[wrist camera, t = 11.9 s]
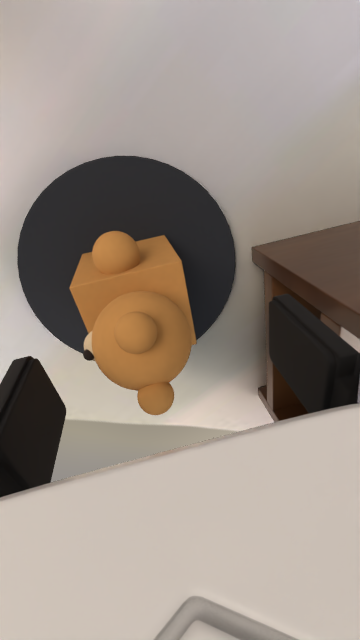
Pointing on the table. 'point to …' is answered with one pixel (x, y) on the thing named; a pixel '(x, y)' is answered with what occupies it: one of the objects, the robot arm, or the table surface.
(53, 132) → the table surface
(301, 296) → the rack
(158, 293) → the teddy
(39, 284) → the mat
